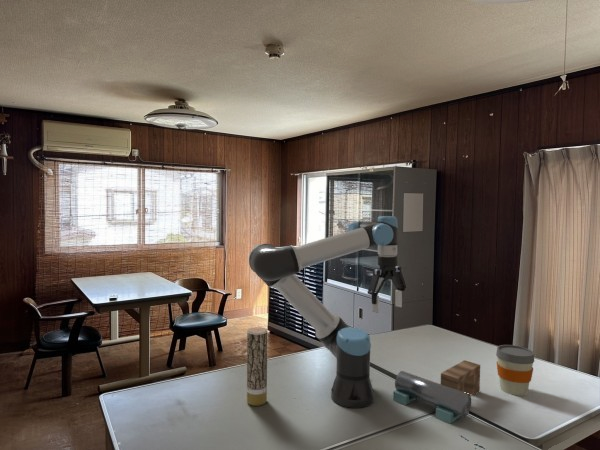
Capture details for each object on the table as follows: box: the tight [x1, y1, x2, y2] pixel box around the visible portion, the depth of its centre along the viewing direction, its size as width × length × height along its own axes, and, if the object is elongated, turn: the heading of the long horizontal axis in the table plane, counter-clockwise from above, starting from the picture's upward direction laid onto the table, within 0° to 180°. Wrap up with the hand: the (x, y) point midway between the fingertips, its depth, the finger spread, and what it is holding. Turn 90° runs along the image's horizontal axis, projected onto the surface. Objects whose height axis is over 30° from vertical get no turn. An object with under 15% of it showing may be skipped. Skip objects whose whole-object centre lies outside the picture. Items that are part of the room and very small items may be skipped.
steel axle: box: [394, 370, 472, 418], centre depth 136 cm, size 24×7×7 cm, turn 43°
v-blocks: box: [392, 389, 462, 424], centre depth 138 cm, size 9×21×3 cm, turn 43°
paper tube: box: [246, 326, 268, 407], centre depth 139 cm, size 7×7×25 cm
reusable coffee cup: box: [495, 344, 535, 397], centre depth 151 cm, size 13×13×15 cm
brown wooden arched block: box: [440, 360, 481, 396], centre depth 145 cm, size 18×6×10 cm, turn 133°
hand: (387, 309), depth 160 cm, fingers open, 13 cm apart
